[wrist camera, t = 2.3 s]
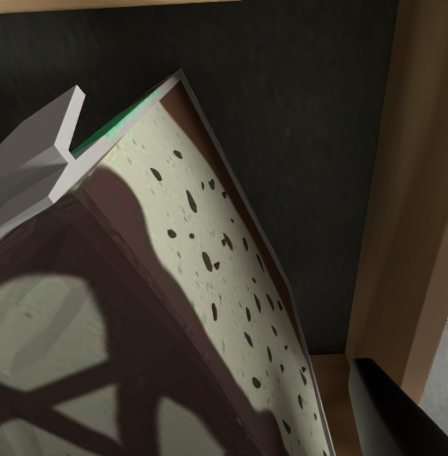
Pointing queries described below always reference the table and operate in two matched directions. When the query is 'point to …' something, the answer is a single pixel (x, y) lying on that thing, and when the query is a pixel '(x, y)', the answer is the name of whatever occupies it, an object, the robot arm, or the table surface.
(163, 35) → the table surface
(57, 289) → the food container
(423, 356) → the desk box
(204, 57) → the table surface
